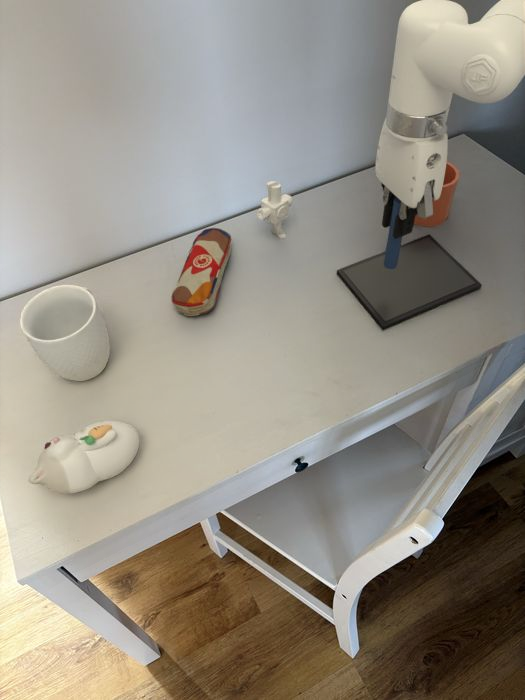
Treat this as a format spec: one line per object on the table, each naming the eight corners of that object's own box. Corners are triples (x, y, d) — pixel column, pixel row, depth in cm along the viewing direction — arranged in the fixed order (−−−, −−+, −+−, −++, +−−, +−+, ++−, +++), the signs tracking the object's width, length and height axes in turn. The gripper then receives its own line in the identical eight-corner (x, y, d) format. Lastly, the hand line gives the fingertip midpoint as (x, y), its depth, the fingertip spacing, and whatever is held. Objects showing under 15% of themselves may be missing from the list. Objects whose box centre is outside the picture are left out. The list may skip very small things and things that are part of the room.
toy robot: (254, 241, 103) (250, 188, 94) (282, 221, 106) (281, 169, 97) (268, 250, 101) (265, 198, 92) (297, 230, 104) (297, 178, 95)
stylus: (392, 258, 89) (403, 193, 79) (399, 266, 88) (412, 201, 78) (380, 262, 89) (391, 197, 78) (388, 271, 87) (399, 205, 77)
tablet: (428, 238, 101) (429, 233, 100) (480, 288, 93) (482, 284, 92) (336, 273, 97) (336, 269, 96) (382, 330, 88) (383, 326, 87)
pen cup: (430, 193, 109) (439, 153, 102) (457, 217, 104) (469, 178, 97) (393, 206, 107) (400, 167, 100) (419, 232, 102) (429, 192, 95)
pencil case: (152, 307, 94) (145, 288, 90) (205, 238, 104) (202, 217, 100) (207, 326, 91) (203, 306, 87) (256, 252, 101) (254, 232, 97)
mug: (69, 320, 93) (40, 265, 83) (131, 321, 92) (110, 266, 82) (43, 392, 84) (7, 341, 74) (111, 394, 83) (84, 342, 73)
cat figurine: (129, 403, 71) (13, 452, 66) (154, 458, 71) (39, 513, 65) (124, 410, 80) (22, 454, 74) (146, 460, 79) (44, 508, 74)
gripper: (482, 136, 64) (449, 252, 79) (404, 81, 73) (387, 194, 88) (430, 155, 62) (406, 269, 77) (357, 96, 72) (348, 208, 86)
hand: (396, 228), depth 82 cm, fingers closed on stylus, 2 cm apart
